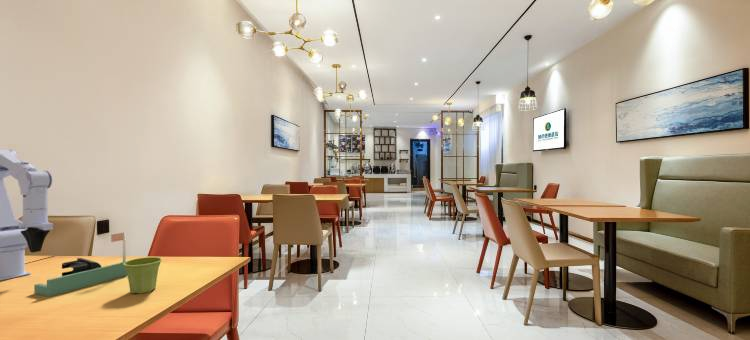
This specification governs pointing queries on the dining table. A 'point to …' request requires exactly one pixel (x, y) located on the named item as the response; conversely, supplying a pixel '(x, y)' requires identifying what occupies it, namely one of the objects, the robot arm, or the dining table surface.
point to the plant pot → (142, 274)
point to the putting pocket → (85, 275)
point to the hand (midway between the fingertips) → (35, 251)
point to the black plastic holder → (79, 266)
